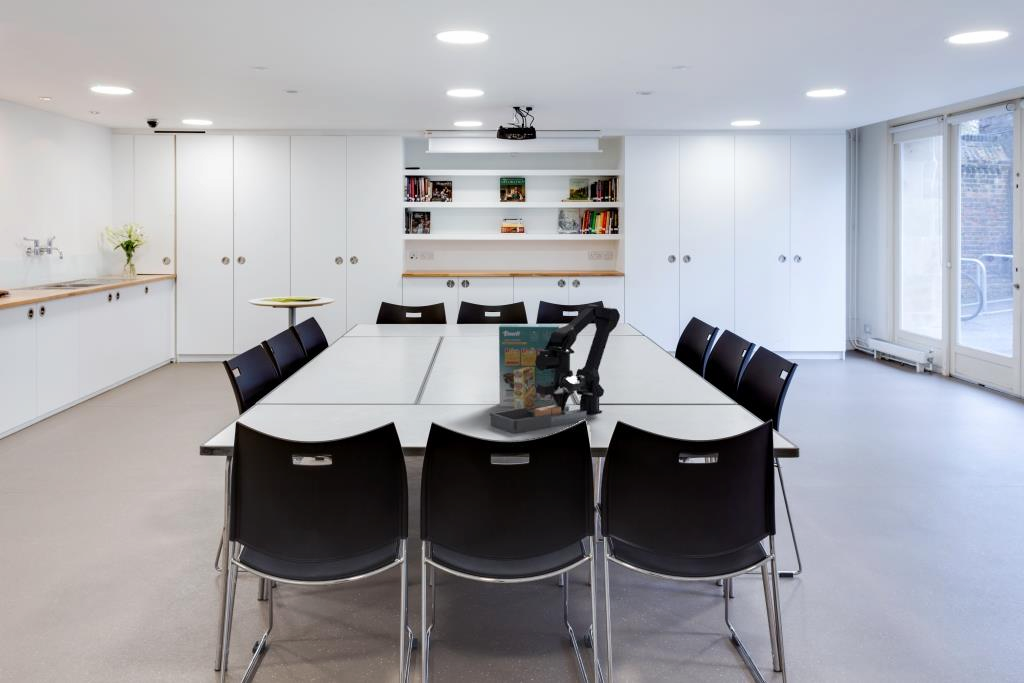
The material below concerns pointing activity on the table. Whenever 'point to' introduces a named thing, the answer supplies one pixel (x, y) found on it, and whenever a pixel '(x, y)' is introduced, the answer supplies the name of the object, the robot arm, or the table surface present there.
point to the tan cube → (542, 411)
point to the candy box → (524, 388)
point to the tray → (519, 421)
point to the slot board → (564, 416)
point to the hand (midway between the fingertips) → (561, 411)
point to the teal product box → (523, 359)
